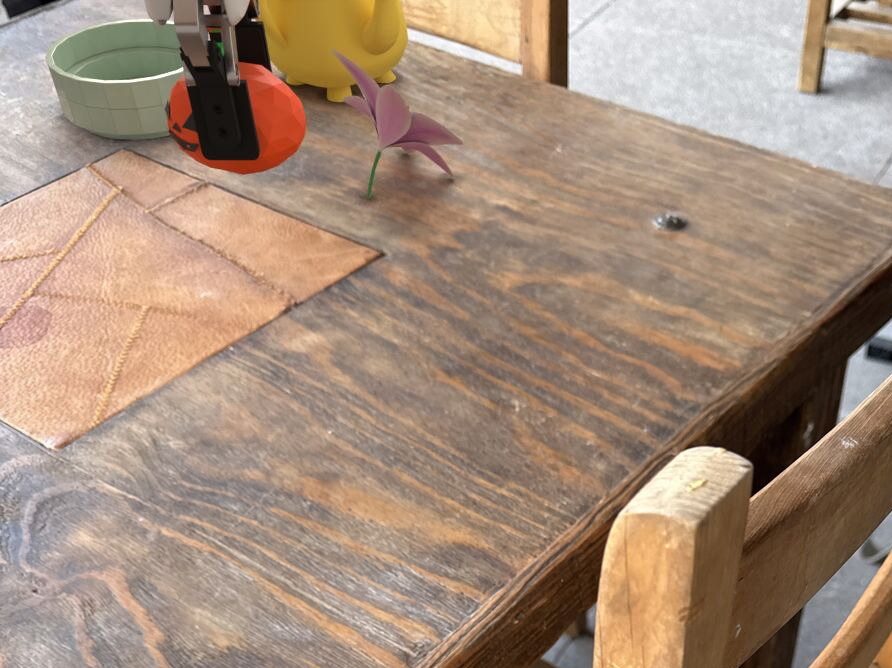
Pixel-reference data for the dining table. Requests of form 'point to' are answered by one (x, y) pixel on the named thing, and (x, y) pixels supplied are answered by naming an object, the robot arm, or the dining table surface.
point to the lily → (396, 120)
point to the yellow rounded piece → (334, 40)
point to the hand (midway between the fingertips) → (240, 124)
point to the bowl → (117, 77)
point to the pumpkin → (273, 117)
